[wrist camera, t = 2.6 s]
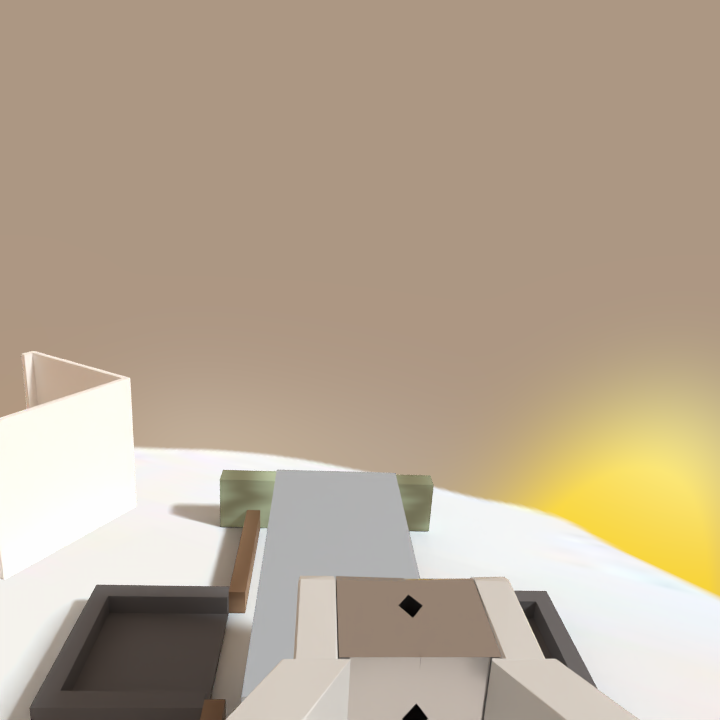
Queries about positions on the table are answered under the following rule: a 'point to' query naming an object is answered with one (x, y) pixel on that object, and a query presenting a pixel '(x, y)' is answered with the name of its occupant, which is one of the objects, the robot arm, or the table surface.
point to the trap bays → (184, 653)
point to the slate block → (322, 549)
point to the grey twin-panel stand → (63, 459)
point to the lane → (251, 511)
